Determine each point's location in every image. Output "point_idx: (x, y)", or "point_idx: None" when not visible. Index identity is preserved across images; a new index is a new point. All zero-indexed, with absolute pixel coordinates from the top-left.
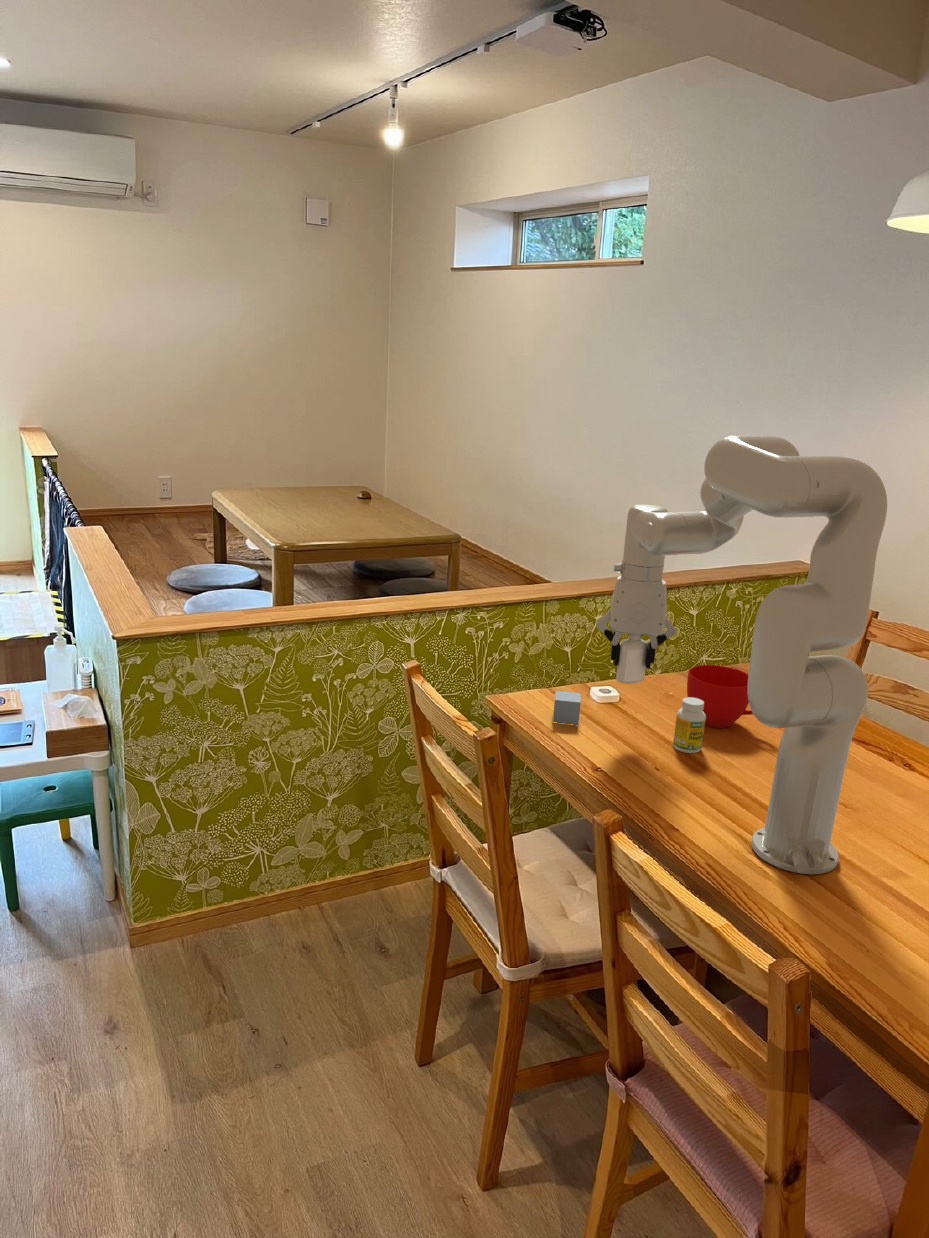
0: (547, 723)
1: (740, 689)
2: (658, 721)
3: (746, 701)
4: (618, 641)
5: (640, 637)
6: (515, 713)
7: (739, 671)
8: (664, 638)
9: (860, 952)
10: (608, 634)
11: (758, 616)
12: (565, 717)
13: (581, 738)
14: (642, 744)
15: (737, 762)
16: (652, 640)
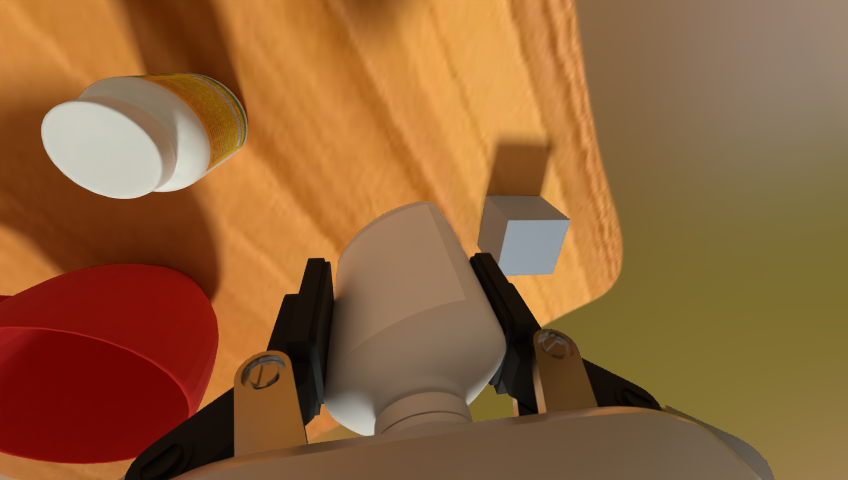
0: (552, 190)
1: None
2: (298, 263)
3: None
4: (537, 354)
5: (384, 424)
6: (604, 224)
7: (22, 452)
8: (150, 461)
9: None
10: (625, 394)
11: None
12: (522, 201)
13: (492, 120)
14: (335, 115)
15: (11, 28)
16: (277, 411)
